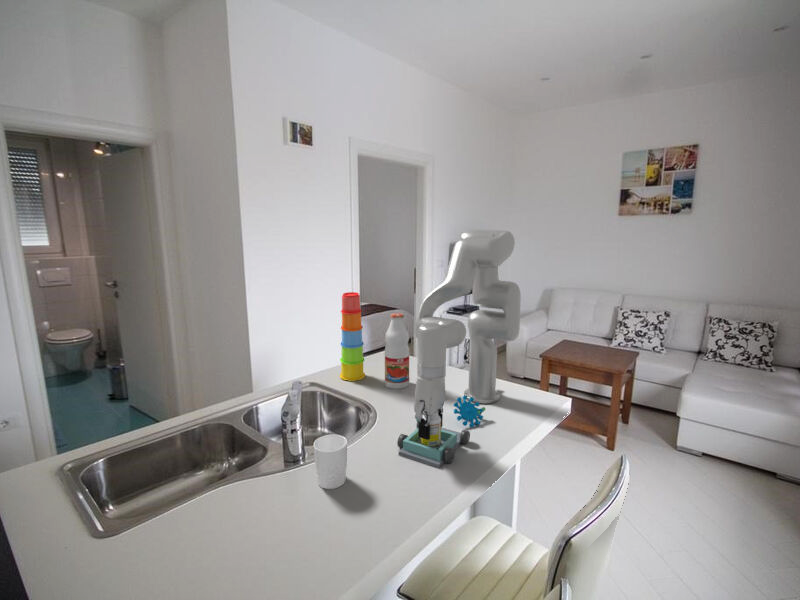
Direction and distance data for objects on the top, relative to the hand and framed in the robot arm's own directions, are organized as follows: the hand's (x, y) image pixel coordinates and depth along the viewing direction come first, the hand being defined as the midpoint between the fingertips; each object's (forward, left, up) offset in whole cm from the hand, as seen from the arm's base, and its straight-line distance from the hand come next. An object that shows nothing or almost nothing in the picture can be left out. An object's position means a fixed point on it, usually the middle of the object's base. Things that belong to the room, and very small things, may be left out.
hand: (430, 431), depth 112 cm
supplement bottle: (0, 0, -4) cm, 4 cm away
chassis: (-2, 0, -5) cm, 6 cm away
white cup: (+25, -14, -5) cm, 29 cm away
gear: (-21, +3, -6) cm, 22 cm away
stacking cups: (-33, -52, -5) cm, 62 cm away
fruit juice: (-35, -32, -5) cm, 48 cm away
